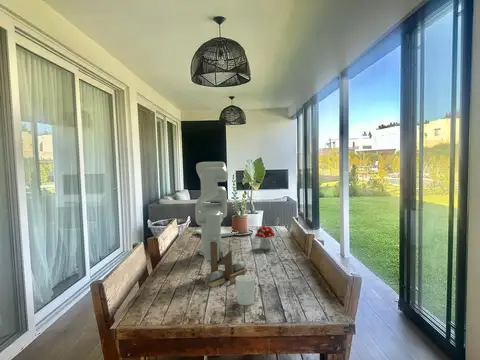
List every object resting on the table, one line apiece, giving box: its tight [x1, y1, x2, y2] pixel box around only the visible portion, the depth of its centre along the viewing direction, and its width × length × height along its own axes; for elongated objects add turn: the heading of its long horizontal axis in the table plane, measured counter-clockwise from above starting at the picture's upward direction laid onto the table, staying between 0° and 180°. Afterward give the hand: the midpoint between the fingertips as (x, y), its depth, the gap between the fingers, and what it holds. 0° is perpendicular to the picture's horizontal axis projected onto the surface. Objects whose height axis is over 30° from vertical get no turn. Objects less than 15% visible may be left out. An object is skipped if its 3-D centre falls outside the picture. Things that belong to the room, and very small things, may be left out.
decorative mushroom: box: [254, 225, 276, 251], centre depth 229 cm, size 14×14×15 cm
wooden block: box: [209, 242, 233, 280], centre depth 173 cm, size 4×11×18 cm, turn 87°
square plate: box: [194, 226, 239, 238], centre depth 277 cm, size 27×27×4 cm
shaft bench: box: [204, 260, 248, 288], centre depth 171 cm, size 10×26×6 cm, turn 142°
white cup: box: [235, 274, 256, 306], centre depth 142 cm, size 8×8×10 cm
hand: (214, 273), depth 177 cm, fingers closed
